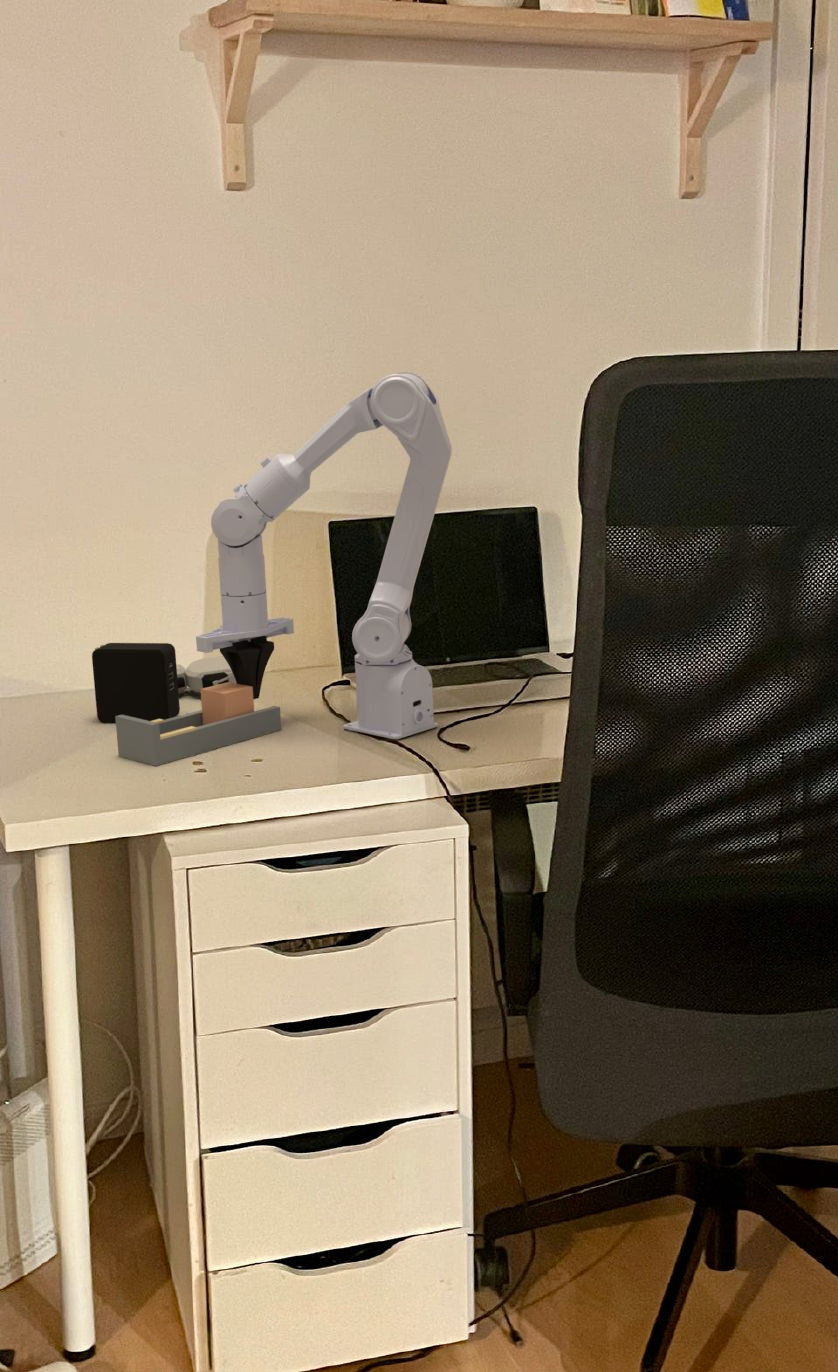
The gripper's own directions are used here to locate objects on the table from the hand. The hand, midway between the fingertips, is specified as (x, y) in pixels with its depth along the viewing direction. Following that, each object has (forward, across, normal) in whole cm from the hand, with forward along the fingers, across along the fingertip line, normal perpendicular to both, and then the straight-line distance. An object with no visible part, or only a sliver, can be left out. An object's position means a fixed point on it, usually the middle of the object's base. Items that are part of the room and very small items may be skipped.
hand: (250, 698), depth 193 cm
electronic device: (+4, +6, -16) cm, 18 cm away
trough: (+4, +8, 0) cm, 9 cm away
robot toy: (+4, -8, -22) cm, 24 cm away
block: (+3, +4, 0) cm, 5 cm away
